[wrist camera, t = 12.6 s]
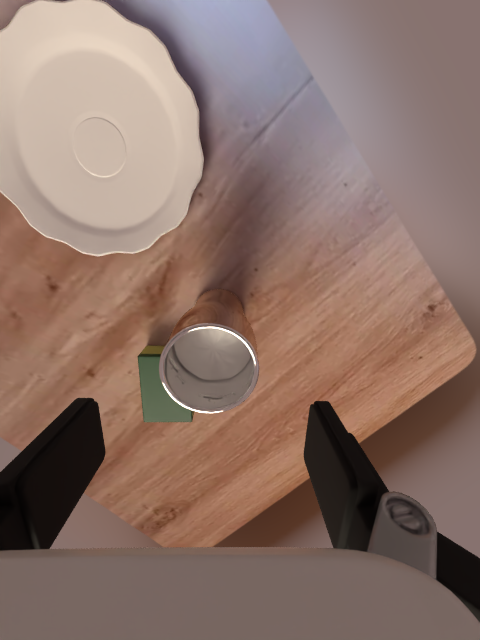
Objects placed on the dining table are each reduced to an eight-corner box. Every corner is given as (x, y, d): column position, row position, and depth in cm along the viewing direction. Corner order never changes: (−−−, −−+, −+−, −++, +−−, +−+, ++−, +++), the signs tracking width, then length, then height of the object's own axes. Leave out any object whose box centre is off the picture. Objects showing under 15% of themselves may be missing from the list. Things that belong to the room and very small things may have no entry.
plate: (242, 181, 26) (243, 176, 25) (96, 290, 29) (89, 292, 27) (106, -47, 21) (96, -71, 19) (-58, 113, 23) (-79, 103, 22)
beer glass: (219, 349, 32) (210, 433, 17) (178, 312, 30) (132, 371, 16) (258, 312, 30) (284, 371, 16) (218, 272, 29) (208, 297, 15)
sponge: (146, 345, 31) (137, 356, 28) (194, 346, 31) (190, 356, 28) (151, 406, 34) (143, 422, 30) (195, 406, 34) (191, 422, 31)
